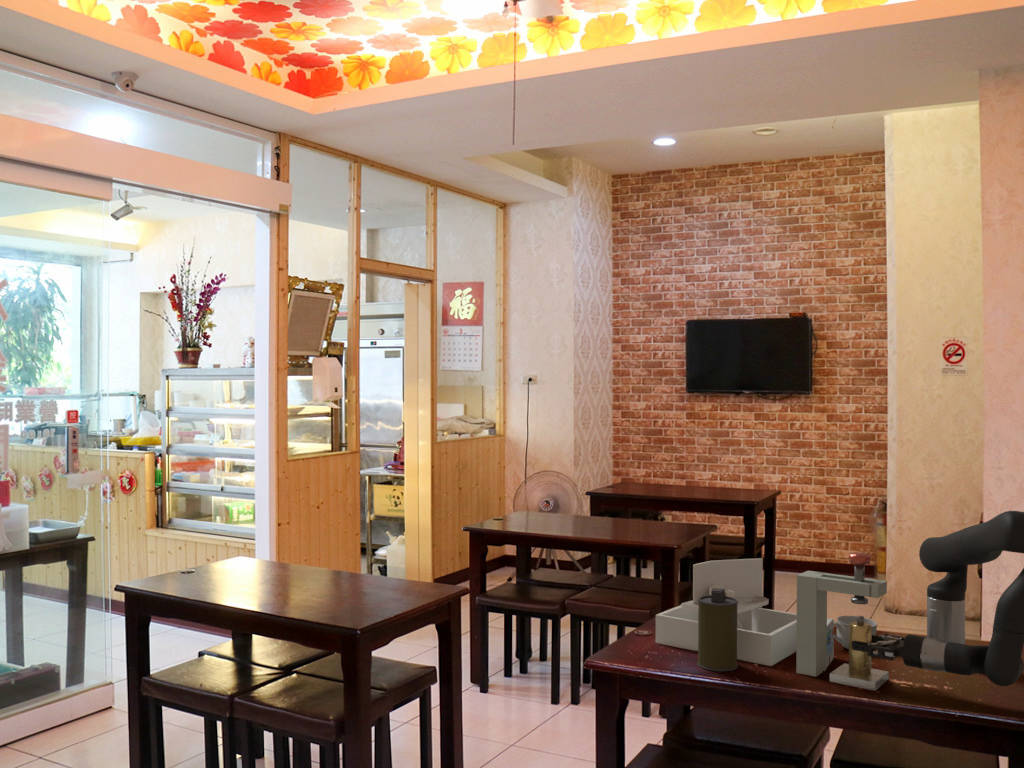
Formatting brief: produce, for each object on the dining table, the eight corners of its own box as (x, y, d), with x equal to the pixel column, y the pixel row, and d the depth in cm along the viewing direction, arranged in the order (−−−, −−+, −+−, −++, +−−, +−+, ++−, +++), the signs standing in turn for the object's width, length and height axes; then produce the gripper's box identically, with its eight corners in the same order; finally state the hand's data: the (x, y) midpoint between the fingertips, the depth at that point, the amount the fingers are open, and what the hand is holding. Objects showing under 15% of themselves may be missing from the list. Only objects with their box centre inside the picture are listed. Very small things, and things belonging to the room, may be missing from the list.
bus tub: (699, 624, 280) (699, 598, 280) (808, 643, 258) (809, 615, 258) (655, 642, 258) (655, 614, 258) (771, 666, 237) (771, 635, 237)
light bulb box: (827, 668, 236) (827, 626, 236) (800, 664, 239) (800, 623, 239) (834, 657, 245) (834, 618, 245) (808, 654, 248) (808, 614, 248)
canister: (734, 673, 230) (735, 595, 230) (694, 668, 234) (694, 591, 234) (740, 661, 240) (740, 586, 241) (701, 657, 244) (701, 583, 244)
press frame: (807, 665, 238) (808, 570, 238) (886, 681, 225) (887, 580, 225) (796, 672, 231) (796, 575, 231) (877, 689, 219) (877, 586, 219)
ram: (852, 599, 229) (852, 551, 229) (872, 602, 226) (873, 554, 226) (846, 602, 225) (846, 554, 225) (866, 605, 222) (866, 556, 222)
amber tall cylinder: (852, 668, 229) (853, 612, 229) (873, 672, 226) (874, 616, 226) (845, 672, 225) (846, 616, 225) (867, 677, 222) (868, 620, 222)
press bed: (844, 671, 233) (844, 663, 233) (888, 679, 226) (888, 671, 226) (829, 681, 224) (829, 673, 225) (875, 690, 218) (875, 682, 218)
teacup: (868, 643, 259) (868, 615, 260) (883, 654, 249) (883, 625, 249) (819, 642, 260) (820, 614, 260) (832, 653, 249) (832, 624, 249)
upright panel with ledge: (734, 662, 241) (735, 574, 242) (670, 646, 257) (670, 563, 257) (788, 643, 261) (788, 561, 261) (725, 628, 276) (725, 552, 276)
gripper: (934, 631, 221) (866, 620, 231) (918, 643, 210) (848, 632, 220) (934, 662, 221) (866, 650, 231) (918, 676, 210) (848, 662, 220)
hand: (857, 641), depth 226 cm, fingers open, 8 cm apart
